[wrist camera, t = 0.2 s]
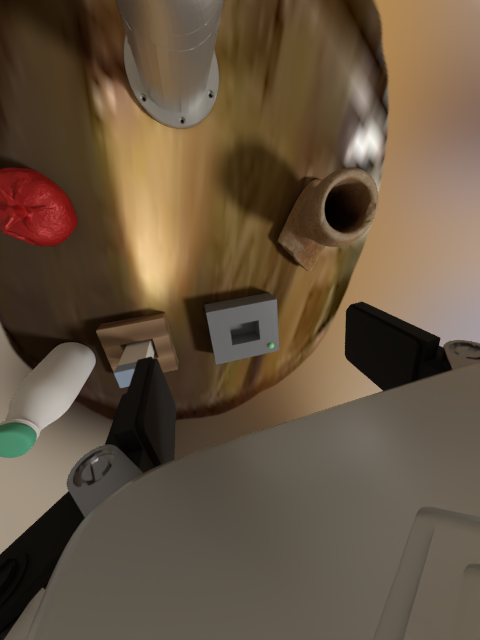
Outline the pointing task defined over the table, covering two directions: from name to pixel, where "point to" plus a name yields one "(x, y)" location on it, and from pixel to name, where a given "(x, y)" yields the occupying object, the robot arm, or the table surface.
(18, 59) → the table surface
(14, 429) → the milk bottle
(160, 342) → the slotted socket block
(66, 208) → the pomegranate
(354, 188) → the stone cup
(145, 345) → the plug
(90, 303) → the table surface
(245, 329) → the port block
